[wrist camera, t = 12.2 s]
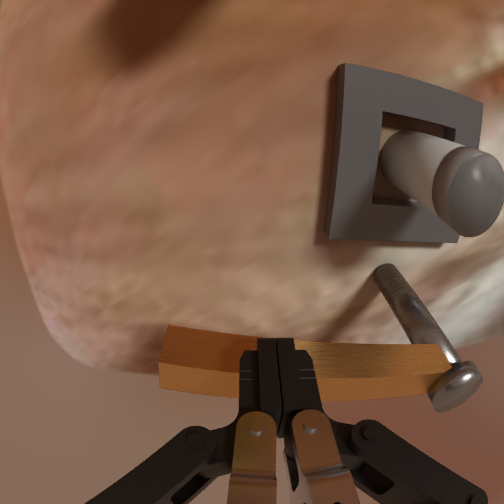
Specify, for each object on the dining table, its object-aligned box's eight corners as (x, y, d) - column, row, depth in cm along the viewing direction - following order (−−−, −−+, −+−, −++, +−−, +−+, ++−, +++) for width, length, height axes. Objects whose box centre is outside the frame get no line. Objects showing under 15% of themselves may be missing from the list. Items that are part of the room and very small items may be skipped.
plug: (436, 134, 20) (512, 161, 12) (426, 192, 22) (493, 238, 14) (384, 123, 20) (456, 144, 12) (376, 186, 22) (437, 235, 14)
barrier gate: (195, 227, 23) (152, 371, 11) (408, 260, 25) (491, 371, 13) (191, 267, 25) (157, 415, 12) (393, 292, 27) (460, 407, 14)
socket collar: (472, 101, 18) (483, 103, 17) (448, 236, 24) (457, 243, 23) (338, 65, 18) (345, 63, 16) (324, 231, 24) (328, 239, 22)
